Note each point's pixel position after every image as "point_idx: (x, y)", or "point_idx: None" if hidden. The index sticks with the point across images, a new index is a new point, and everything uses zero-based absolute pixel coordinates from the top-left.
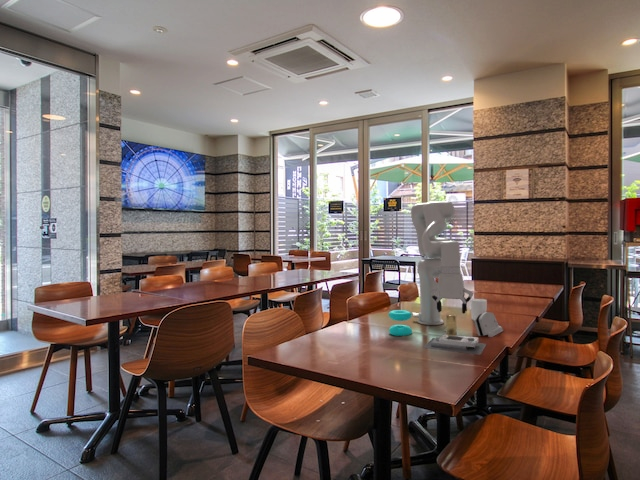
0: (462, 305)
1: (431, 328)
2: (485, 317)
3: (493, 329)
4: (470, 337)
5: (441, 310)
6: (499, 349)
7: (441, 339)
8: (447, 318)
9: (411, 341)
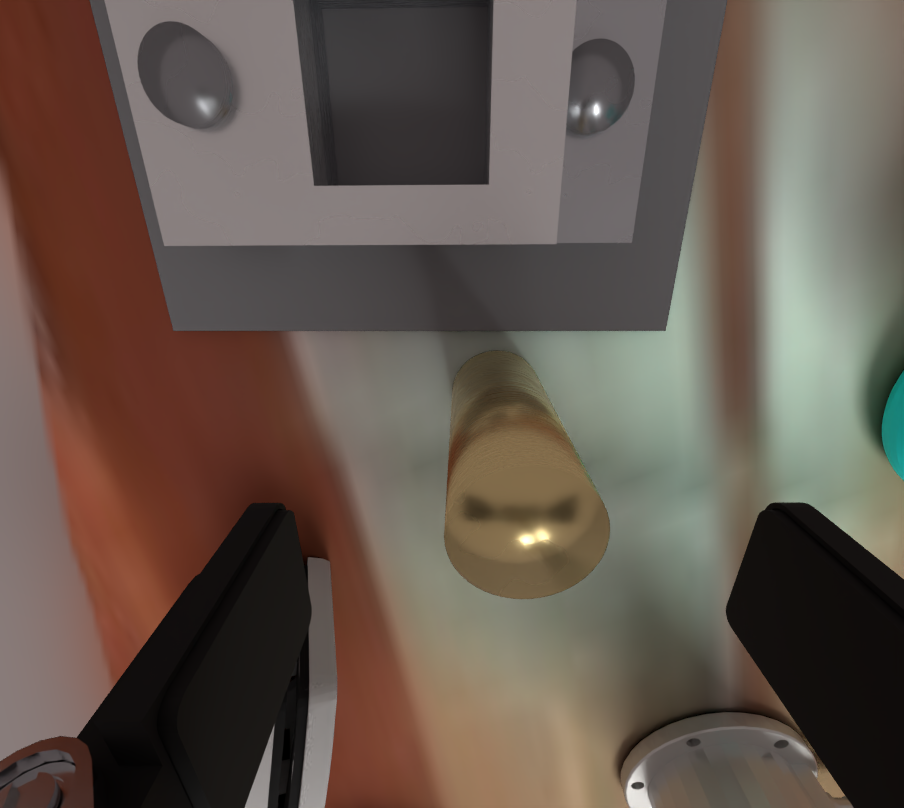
0: (187, 664)
1: (694, 644)
2: None
3: None
4: (240, 212)
5: (732, 615)
6: (36, 230)
7: None
8: (572, 459)
9: (885, 140)
